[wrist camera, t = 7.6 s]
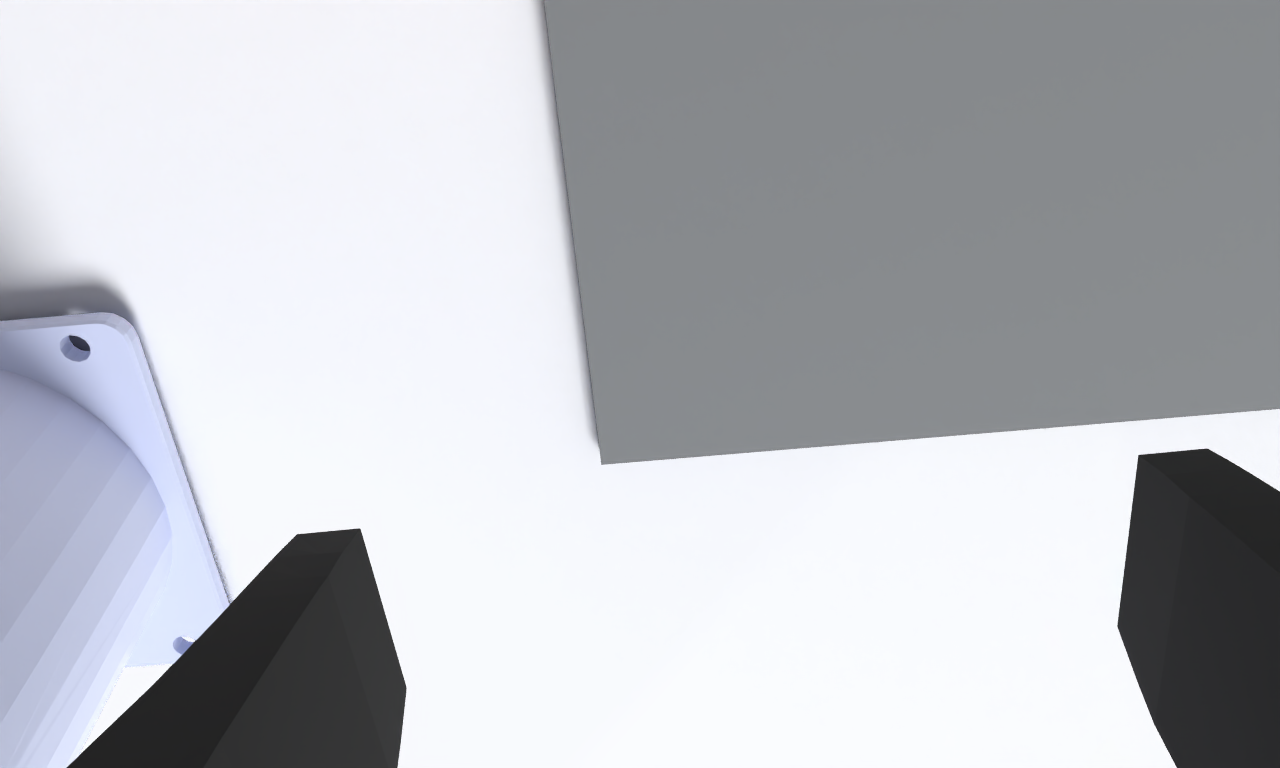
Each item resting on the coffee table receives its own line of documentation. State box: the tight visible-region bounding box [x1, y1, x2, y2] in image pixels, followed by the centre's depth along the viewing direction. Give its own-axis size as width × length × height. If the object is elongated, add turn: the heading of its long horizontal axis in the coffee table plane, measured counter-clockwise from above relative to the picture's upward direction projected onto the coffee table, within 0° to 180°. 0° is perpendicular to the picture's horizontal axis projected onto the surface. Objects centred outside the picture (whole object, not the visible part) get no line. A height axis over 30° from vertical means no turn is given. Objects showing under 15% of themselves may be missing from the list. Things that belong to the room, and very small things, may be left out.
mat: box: [544, 0, 1280, 465], centre depth 19 cm, size 14×14×1 cm
